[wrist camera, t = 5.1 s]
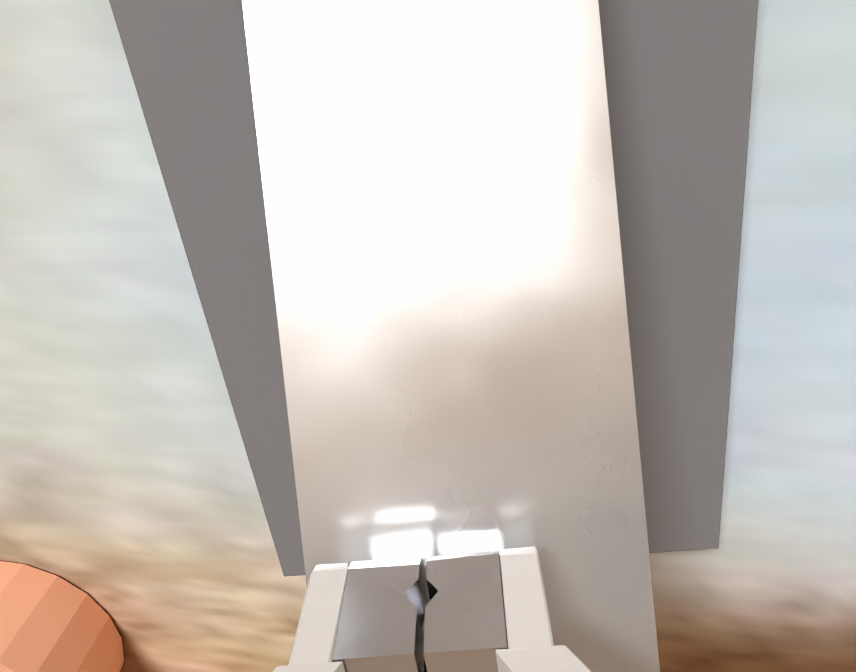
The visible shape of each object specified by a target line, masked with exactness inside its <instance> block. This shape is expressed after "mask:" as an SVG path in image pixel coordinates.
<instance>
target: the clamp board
mask: <svg viewBox="0 0 856 672" xmlns="http://www.w3.org/2000/svg"><path fill="white" fill-rule="evenodd" d="M109 1H110V5H111V8H112V11H113V15H114V18H115V21H116V24H117V28H118V31H119V34H120V38H121V41H122V44H123V47H124V51H125V54H126V57H127V61H128V64H129V67H130V70H131V74H132V77H133V80H134V84H135V87H136V90H137V94H138V97H139V100H140V103H141V107H142V110H143V113H144V117H145V120H146V123H147V126H148V130H149V133H150V136H151V140H152V143H153V146H154V150H155V153H156V156H157V159H158V163H159V166H160V169H161V173H162V176H163V179H164V182H165V186H166V189H167V192H168V196H169V199H170V202H171V205H172V209H173V212H174V215H175V219H176V222H177V225H178V229H179V232H180V235H181V238H182V242H183V245H184V248H185V252H186V255H187V258H188V261H189V265H190V268H191V271H192V275H193V278H194V281H195V284H196V288H197V291H198V294H199V298H200V301H201V304H202V308H203V311H204V314H205V317H206V321H207V324H208V327H209V331H210V334H211V337H212V340H213V344H214V347H215V350H216V354H217V357H218V360H219V363H220V367H221V370H222V373H223V377H224V380H225V383H226V387H227V390H228V393H229V396H230V400H231V403H232V406H233V410H234V413H235V416H236V419H237V423H238V426H239V429H240V433H241V436H242V439H243V443H244V446H245V449H246V452H247V456H248V459H249V462H250V466H251V469H252V472H253V475H254V479H255V482H256V485H257V489H258V492H259V495H260V498H261V502H262V505H263V508H264V512H265V515H266V518H267V522H268V525H269V528H270V531H271V535H272V538H273V541H274V545H275V548H276V551H277V554H278V558H279V561H280V564H281V568H282V571H283V574H284V576H298V575H306V574H305V565H304V556H303V547H302V538H301V529H300V520H299V511H298V502H297V493H296V484H295V475H294V466H293V456H292V447H291V438H290V429H289V420H288V411H287V402H286V393H285V384H284V375H283V366H282V357H281V348H280V339H279V329H278V320H277V311H276V302H275V293H274V284H273V275H272V266H271V257H270V248H269V239H268V230H267V221H266V212H265V202H264V193H263V184H262V175H261V166H260V157H259V148H258V139H257V130H256V121H255V112H254V103H253V94H252V84H251V75H250V66H249V57H248V48H247V39H246V30H245V21H244V12H243V3H242V0H109ZM598 4H599V14H600V25H601V36H602V47H603V58H604V69H605V80H606V90H607V101H608V112H609V123H610V134H611V145H612V155H613V166H614V177H615V188H616V199H617V210H618V221H619V231H620V242H621V253H622V264H623V275H624V286H625V296H626V307H627V318H628V329H629V340H630V351H631V362H632V372H633V383H634V394H635V405H636V416H637V427H638V438H639V448H640V459H641V470H642V481H643V492H644V503H645V513H646V524H647V535H648V546H649V553H655V552H671V551H687V550H702V549H718V548H719V535H720V521H721V507H722V494H723V480H724V466H725V452H726V438H727V424H728V411H729V397H730V383H731V369H732V355H733V342H734V328H735V314H736V300H737V286H738V273H739V259H740V245H741V231H742V217H743V203H744V190H745V176H746V162H747V148H748V134H749V121H750V107H751V93H752V79H753V65H754V51H755V38H756V24H757V10H758V0H598Z"/></svg>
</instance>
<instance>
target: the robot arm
mask: <svg viewBox="0 0 856 672" xmlns="http://www.w3.org/2000/svg"><path fill="white" fill-rule="evenodd" d="M500 563H501V565H500ZM427 586H428V592H429V598H430V601H429V600H428V599H427V598H426V594H427ZM272 672H592V671H591V670H590V669H589V668H588V667H587V666H586V665H585V664H584V663H583V662H582V661H581V660H580V659H579V658H578V657H577V656H576V655H575V654H574V653H573V652H572V651H571V650H570V649H569V648H568V647H567V646H566V645H558V646H554V643H553V637H552V631H551V625H550V619H549V614H548V608H547V602H546V596H545V590H544V584H543V578H542V572H541V567H540V561H539V555H538V551H537V549H536V548H535V546H532V547H522V548H513V549H503V550H500V558H499V550H496V551H485V552H474V553H464V554H453V555H443V556H432V557H429V558H428V560H427V571H426V572H425V567H424V562H423V560H422V559H421V558H410V559H393V560H377V561H360V562H352V563H342V564H323V565H316V567H315V568H314V570H313V571H312V573H311V575H310V579H309V583H308V587H307V591H306V595H305V599H304V603H303V607H302V611H301V615H300V619H299V623H298V627H297V631H296V635H295V639H294V643H293V647H292V652H291V656H290V660H289V664H288V665H284V666H277V667H276V668H275V669H274V670H273V671H272Z"/></svg>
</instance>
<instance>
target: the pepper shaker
mask: <svg viewBox="0 0 856 672" xmlns="http://www.w3.org/2000/svg"><path fill="white" fill-rule="evenodd" d="M123 662H124V654H123V645H122V638H121V636H120V635H119V633H118V631H117V629H116V627H115V625H114V624H113V622H112V620H111V618H110V616H109V615H108V614H107V613H106V612H105V611H104V610H103V609H102V608H101V607H100V606H99V605H98V604H97V603H96V602H95V601H94V600H93V599H92V598H91V597H90V596H89V595H88V594H86V593H85V592H83V591H81V590H80V589H78V588H76V587H75V586H73V585H72V584H70V583H68V582H67V581H65V580H63V579H62V578H60V577H58V576H56V575H53V574H51V573H48V572H45V571H42V570H39V569H36V568H34V567H31V566H28V565H25V564H20V563H12V562H4V561H0V672H120V670H121V668H122V665H123Z"/></svg>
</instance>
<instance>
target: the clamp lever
mask: <svg viewBox="0 0 856 672" xmlns="http://www.w3.org/2000/svg"><path fill="white" fill-rule="evenodd" d="M242 3H243V12H244V21H245V30H246V39H247V48H248V57H249V66H250V75H251V84H252V94H253V103H254V112H255V121H256V130H257V139H258V148H259V157H260V166H261V175H262V184H263V193H264V202H265V212H266V221H267V230H268V239H269V248H270V257H271V266H272V275H273V284H274V293H275V302H276V311H277V320H278V329H279V339H280V348H281V357H282V366H283V375H284V384H285V393H286V402H287V411H288V420H289V429H290V438H291V447H292V456H293V466H294V475H295V484H296V493H297V502H298V511H299V520H300V529H301V538H302V547H303V556H304V565H305V574H306V584H307V587H308V583H309V579H310V575H311V573H312V571H313V570H314V568H315V567H316V565H323V564H342V563H352V562H360V561H377V560H393V559H410V558H421V559H422V560H423V562H424V567H425V572H426V571H427V560H428V558H429V557H432V556H443V555H453V554H464V553H474V552H485V551H496V550H499V558H500V550H503V549H513V548H522V547H532V546H535V548H536V549H537V551H538V555H539V561H540V567H541V572H542V578H543V584H544V590H545V596H546V602H547V608H548V614H549V619H550V625H551V631H552V637H553V643H554V646H558V645H566V646H567V647H568V648H569V649H570V650H571V651H572V652H573V653H574V654H575V655H576V656H577V657H578V658H579V659H580V660H581V661H582V662H583V663H584V664H585V665H586V666H587V667H588V668H589V669H590V670H591V671H592V672H660V665H659V654H658V644H657V633H656V622H655V611H654V600H653V589H652V579H651V568H650V557H649V546H648V535H647V524H646V513H645V503H644V492H643V481H642V470H641V459H640V448H639V438H638V427H637V416H636V405H635V394H634V383H633V372H632V362H631V351H630V340H629V329H628V318H627V307H626V296H625V286H624V275H623V264H622V253H621V242H620V231H619V221H618V210H617V199H616V188H615V177H614V166H613V155H612V145H611V134H610V123H609V112H608V101H607V90H606V80H605V69H604V58H603V47H602V36H601V25H600V14H599V4H598V0H242ZM500 565H501V563H500ZM426 598H427V599H428V600H429V601H430V598H429V592H428V586H427V594H426Z"/></svg>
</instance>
